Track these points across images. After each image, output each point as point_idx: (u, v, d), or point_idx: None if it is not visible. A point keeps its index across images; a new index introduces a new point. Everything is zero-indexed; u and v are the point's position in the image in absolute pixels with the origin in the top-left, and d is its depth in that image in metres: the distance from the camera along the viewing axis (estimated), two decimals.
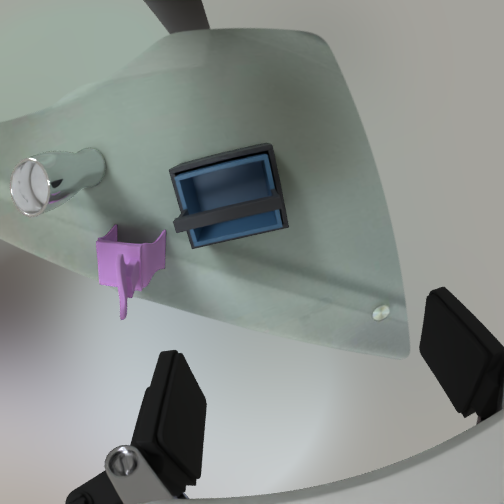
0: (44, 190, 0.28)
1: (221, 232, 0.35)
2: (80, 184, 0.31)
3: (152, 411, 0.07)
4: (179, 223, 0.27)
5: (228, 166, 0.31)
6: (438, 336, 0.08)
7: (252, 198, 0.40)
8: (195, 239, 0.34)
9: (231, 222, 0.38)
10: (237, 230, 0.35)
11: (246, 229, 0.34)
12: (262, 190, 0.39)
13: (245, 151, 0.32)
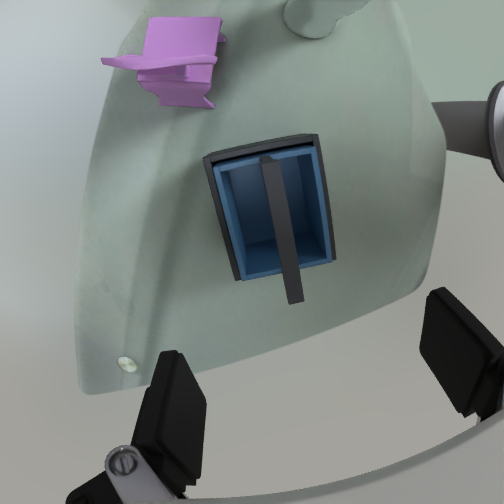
0: None
1: (229, 200, 0.25)
2: (312, 11, 0.18)
3: (152, 411, 0.07)
4: (276, 170, 0.18)
5: (323, 217, 0.25)
6: (438, 336, 0.08)
7: (257, 222, 0.32)
8: (224, 169, 0.23)
9: (233, 205, 0.29)
10: (234, 223, 0.26)
11: (236, 236, 0.26)
12: (267, 234, 0.33)
13: (331, 230, 0.27)
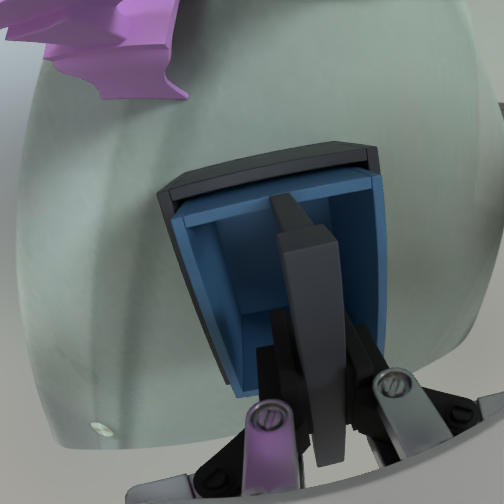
0: None
1: (209, 274, 0.14)
2: None
3: (287, 361, 0.08)
4: (326, 269, 0.06)
5: (381, 305, 0.13)
6: None
7: (260, 284, 0.21)
8: (193, 223, 0.11)
9: (219, 268, 0.17)
10: (219, 314, 0.14)
11: (225, 338, 0.14)
12: (275, 300, 0.21)
13: None
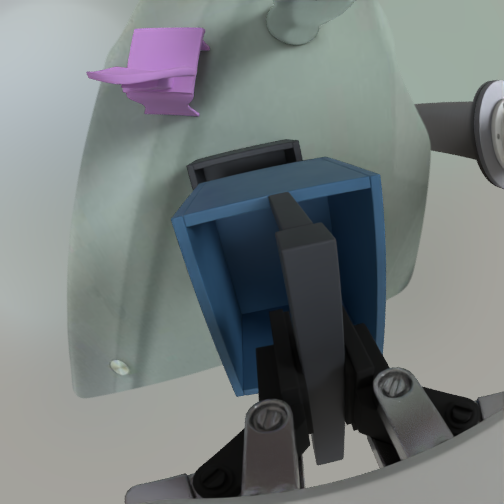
0: None
1: (209, 273, 0.14)
2: (292, 19, 0.19)
3: (286, 361, 0.08)
4: (324, 266, 0.06)
5: (380, 303, 0.13)
6: None
7: (259, 283, 0.21)
8: (194, 222, 0.11)
9: (219, 267, 0.17)
10: (219, 313, 0.14)
11: (225, 336, 0.14)
12: (274, 299, 0.21)
13: None
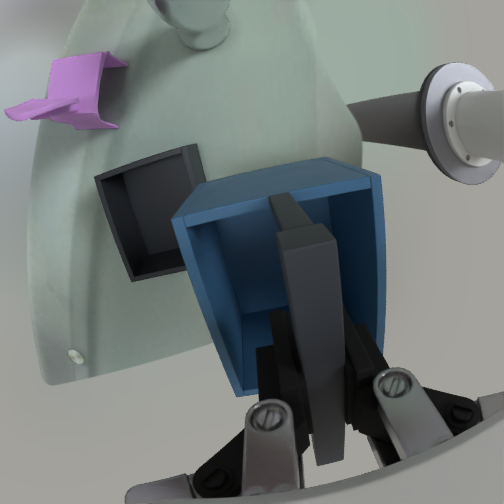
0: None
1: (209, 274, 0.14)
2: (177, 28, 0.20)
3: (286, 361, 0.08)
4: (325, 267, 0.06)
5: (380, 304, 0.13)
6: None
7: (259, 284, 0.21)
8: (194, 222, 0.11)
9: (219, 267, 0.17)
10: (220, 313, 0.14)
11: (225, 337, 0.14)
12: (274, 300, 0.21)
13: None
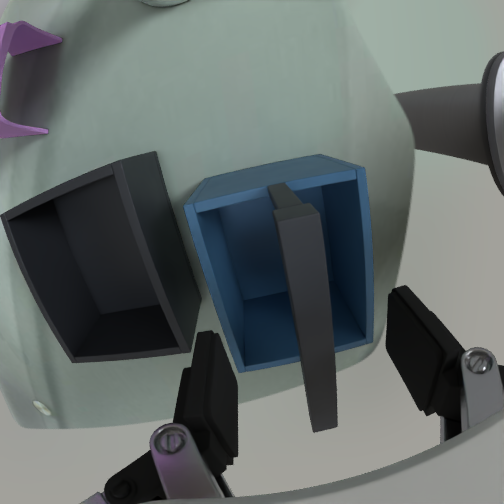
0: None
1: (215, 256, 0.15)
2: None
3: (197, 387, 0.08)
4: (311, 235, 0.08)
5: (368, 284, 0.15)
6: (399, 333, 0.09)
7: (260, 271, 0.22)
8: (203, 208, 0.13)
9: (223, 253, 0.19)
10: (224, 292, 0.16)
11: (229, 314, 0.16)
12: (274, 286, 0.23)
13: (171, 314, 0.17)
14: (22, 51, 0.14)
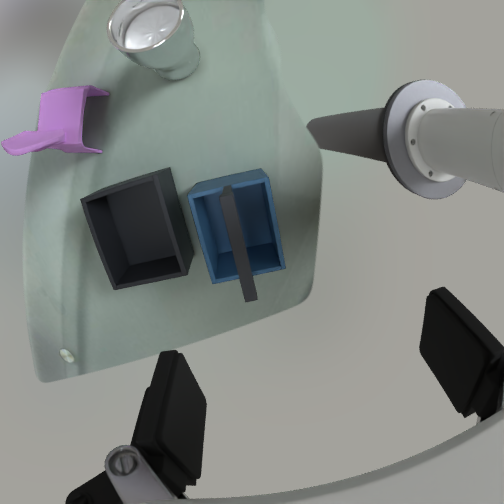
0: (144, 27, 0.20)
1: (201, 220, 0.32)
2: None
3: (152, 411, 0.07)
4: (230, 201, 0.24)
5: (276, 233, 0.31)
6: (438, 336, 0.08)
7: (228, 235, 0.39)
8: (196, 196, 0.29)
9: (206, 222, 0.35)
10: (205, 238, 0.32)
11: (207, 248, 0.32)
12: None
13: (178, 251, 0.33)
14: None
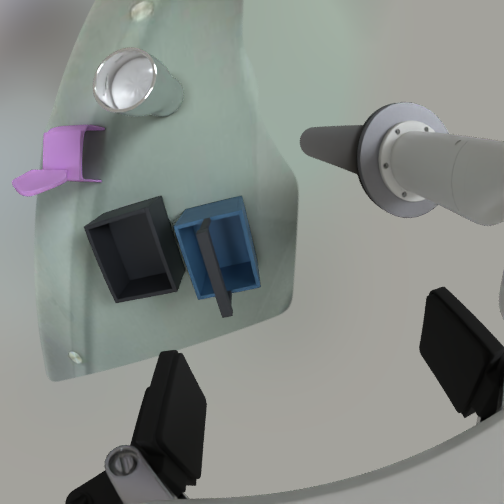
0: (127, 79, 0.25)
1: (187, 245, 0.37)
2: None
3: (152, 411, 0.07)
4: (205, 237, 0.29)
5: (250, 257, 0.36)
6: (438, 336, 0.08)
7: None
8: (180, 227, 0.34)
9: (193, 245, 0.40)
10: (191, 261, 0.37)
11: (192, 270, 0.37)
12: (221, 263, 0.44)
13: (168, 271, 0.38)
14: None
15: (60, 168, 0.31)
